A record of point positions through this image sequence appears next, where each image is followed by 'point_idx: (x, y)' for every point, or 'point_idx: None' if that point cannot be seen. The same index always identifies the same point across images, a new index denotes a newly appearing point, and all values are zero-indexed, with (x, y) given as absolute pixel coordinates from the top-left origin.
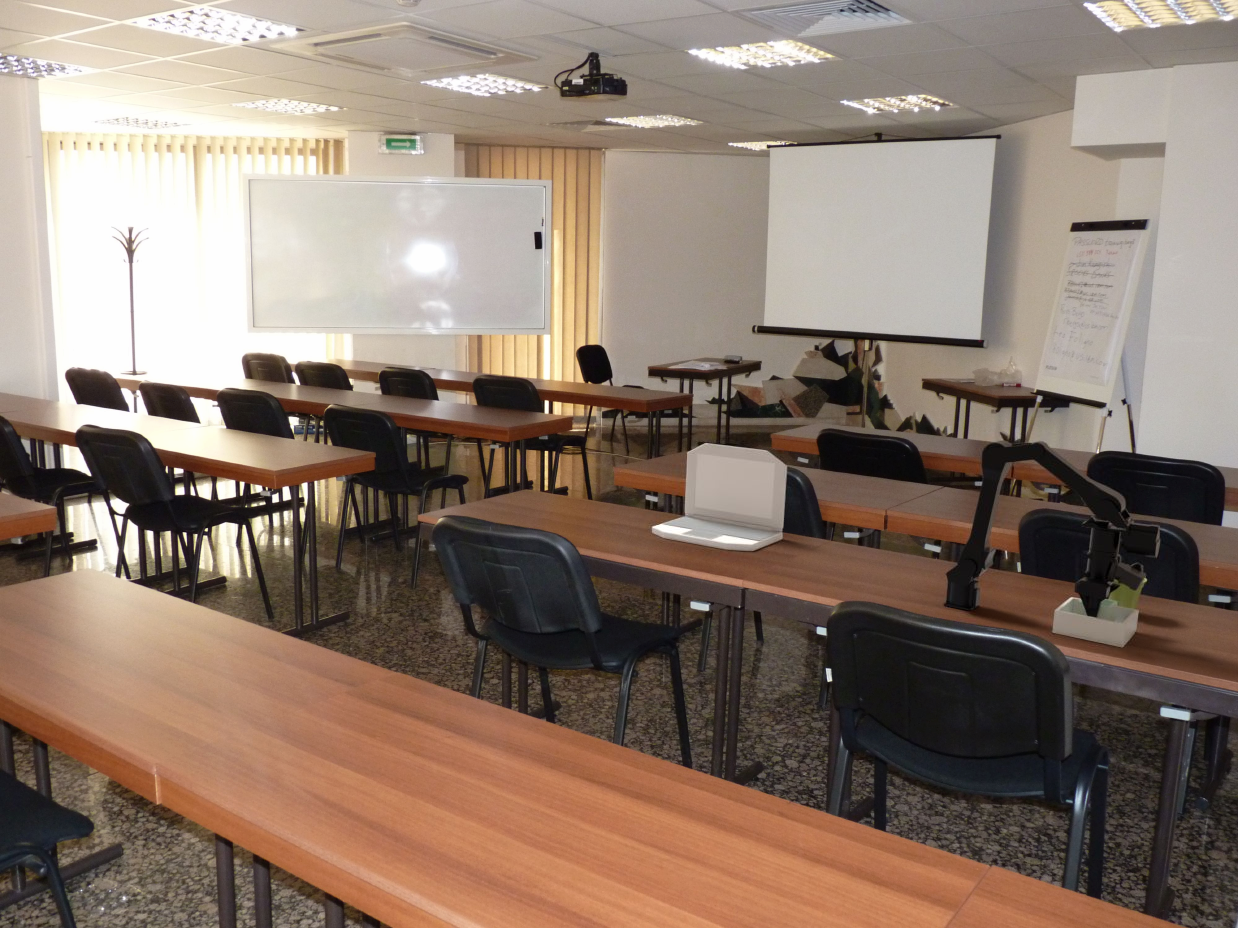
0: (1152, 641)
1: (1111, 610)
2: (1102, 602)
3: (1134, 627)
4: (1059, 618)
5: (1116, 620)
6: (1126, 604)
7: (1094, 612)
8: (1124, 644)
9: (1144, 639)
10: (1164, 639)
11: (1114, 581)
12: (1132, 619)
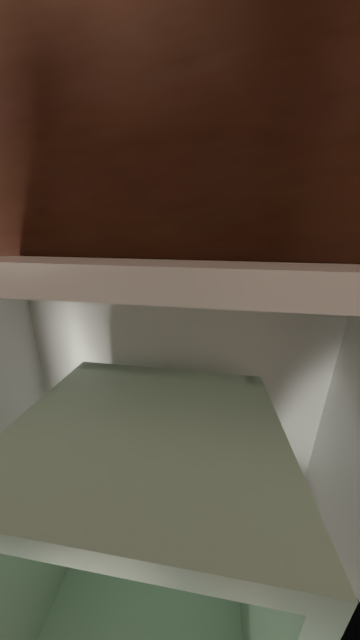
0: (119, 139)
1: (257, 506)
2: (16, 563)
3: (49, 257)
4: None
5: (17, 359)
6: None
7: None
8: (324, 263)
9: (115, 190)
10: (22, 82)
11: None
12: (120, 263)
